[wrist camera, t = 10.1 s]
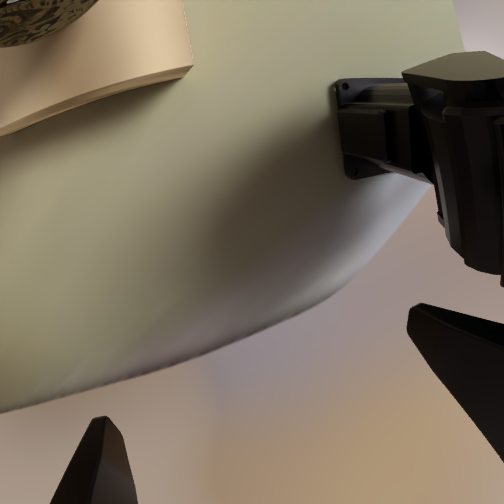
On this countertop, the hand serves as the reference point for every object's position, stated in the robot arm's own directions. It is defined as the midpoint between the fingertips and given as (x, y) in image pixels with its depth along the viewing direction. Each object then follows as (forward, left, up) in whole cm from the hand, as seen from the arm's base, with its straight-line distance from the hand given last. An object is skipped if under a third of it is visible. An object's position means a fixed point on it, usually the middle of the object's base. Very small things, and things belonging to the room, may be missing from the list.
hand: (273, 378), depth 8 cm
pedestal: (+4, -14, -12) cm, 18 cm away
